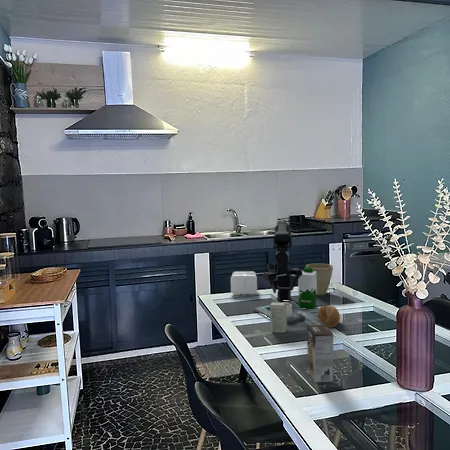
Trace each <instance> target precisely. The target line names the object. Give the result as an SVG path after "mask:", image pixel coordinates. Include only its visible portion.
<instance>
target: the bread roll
mask: <svg viewBox="0 0 450 450" xmlns="http://www.w3.org/2000/svg"><path fill="white" fill-rule="evenodd" d="M340 314H341V313H340V312H339V310H338V309H337V307H335V306H333V305H322V306H320V307H319V309H318V311H317V316H318V319H319V321H320V323H321V324H325V325H326V326H327V327H328V328H329V329H330V328H332V329H333V328H335V327H336V326H338V324H339V322H340V320H341V319H340V318H341V315H340Z"/></svg>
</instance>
